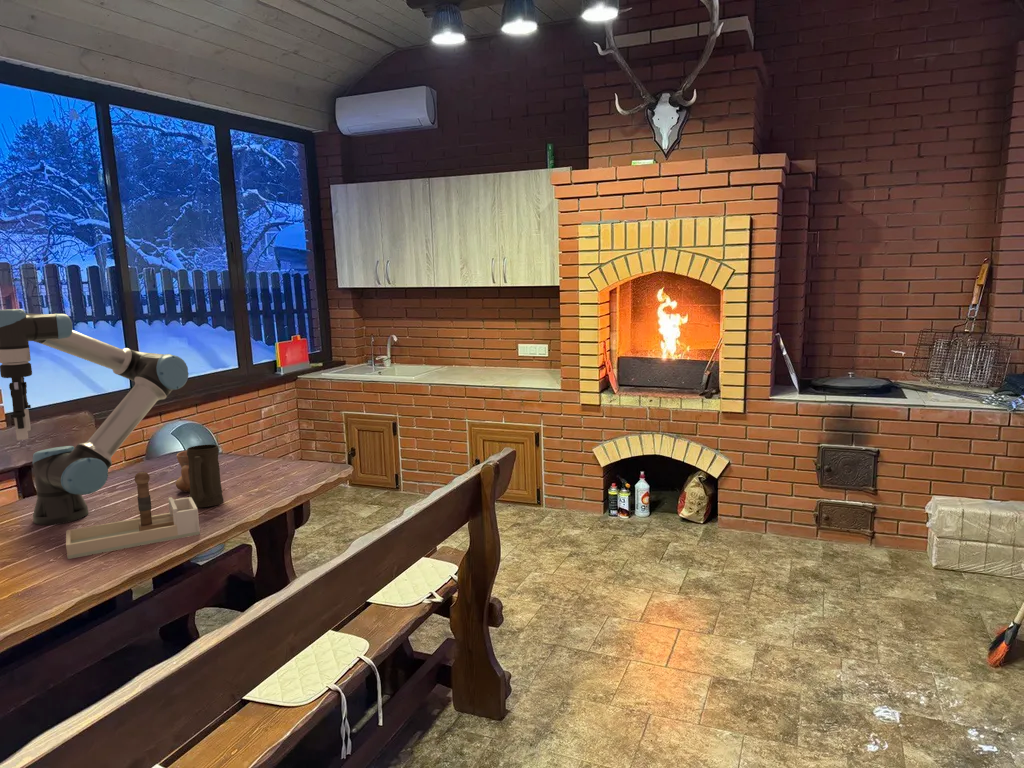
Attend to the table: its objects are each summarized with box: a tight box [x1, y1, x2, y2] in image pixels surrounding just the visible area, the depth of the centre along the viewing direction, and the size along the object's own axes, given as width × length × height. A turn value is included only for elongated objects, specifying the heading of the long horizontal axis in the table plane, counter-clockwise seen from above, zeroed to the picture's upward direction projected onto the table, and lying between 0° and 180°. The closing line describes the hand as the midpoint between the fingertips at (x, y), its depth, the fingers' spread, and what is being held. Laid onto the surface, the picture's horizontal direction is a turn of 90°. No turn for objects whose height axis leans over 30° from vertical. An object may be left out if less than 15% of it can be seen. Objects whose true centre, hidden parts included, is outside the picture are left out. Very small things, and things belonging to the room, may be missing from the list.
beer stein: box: [186, 444, 225, 508], centre depth 239 cm, size 15×11×20 cm
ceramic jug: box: [175, 449, 190, 493], centre depth 258 cm, size 18×14×14 cm
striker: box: [134, 471, 174, 531], centre depth 213 cm, size 5×10×19 cm, turn 121°
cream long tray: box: [65, 496, 201, 560], centre depth 211 cm, size 14×34×9 cm, turn 121°
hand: (24, 435), depth 208 cm, fingers open, 13 cm apart
